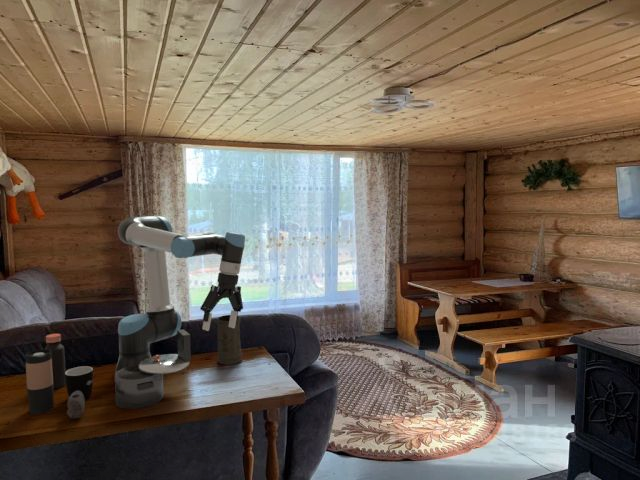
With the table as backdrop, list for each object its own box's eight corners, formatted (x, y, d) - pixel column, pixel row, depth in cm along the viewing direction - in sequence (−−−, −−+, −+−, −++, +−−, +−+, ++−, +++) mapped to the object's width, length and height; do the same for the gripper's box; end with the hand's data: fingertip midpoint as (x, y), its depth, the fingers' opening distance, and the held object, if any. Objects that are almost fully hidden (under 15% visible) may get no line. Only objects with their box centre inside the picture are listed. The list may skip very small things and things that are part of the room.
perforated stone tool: (70, 404, 158) (69, 385, 157) (87, 402, 160) (86, 383, 160) (65, 424, 144) (64, 403, 144) (84, 420, 147) (83, 400, 146)
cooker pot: (170, 403, 159) (169, 375, 158) (121, 415, 150) (120, 386, 149) (155, 384, 175) (154, 359, 174) (111, 394, 166) (109, 367, 165)
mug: (89, 402, 160) (87, 374, 159) (62, 404, 158) (60, 376, 157) (100, 388, 171) (99, 362, 171) (75, 389, 170) (73, 364, 169)
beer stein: (239, 365, 195) (238, 320, 193) (214, 365, 195) (213, 320, 193) (245, 353, 210) (245, 311, 208) (223, 353, 210) (222, 311, 208)
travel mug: (36, 404, 158) (32, 349, 156) (58, 404, 158) (55, 348, 157) (23, 415, 150) (19, 357, 148) (47, 414, 151) (44, 356, 149)
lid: (195, 367, 164) (194, 337, 163) (145, 378, 155) (144, 346, 154) (180, 353, 179) (180, 326, 178) (134, 363, 169) (132, 333, 168)
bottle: (57, 381, 178) (54, 332, 176) (70, 383, 176) (67, 333, 174) (41, 388, 172) (38, 337, 170) (54, 390, 169) (51, 339, 168)
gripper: (211, 274, 157) (200, 333, 157) (257, 276, 178) (248, 328, 178) (197, 270, 161) (186, 328, 161) (243, 272, 182) (234, 324, 182)
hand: (219, 328), depth 169 cm, fingers open, 13 cm apart
